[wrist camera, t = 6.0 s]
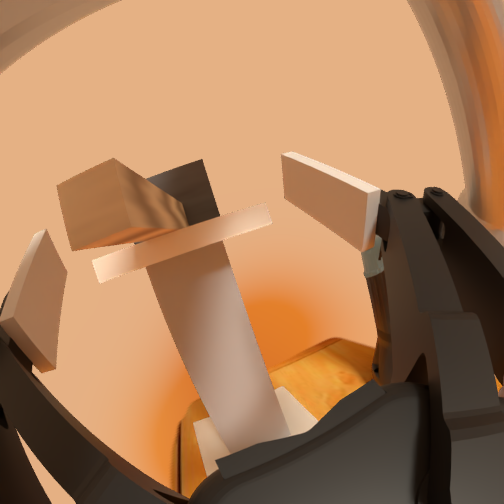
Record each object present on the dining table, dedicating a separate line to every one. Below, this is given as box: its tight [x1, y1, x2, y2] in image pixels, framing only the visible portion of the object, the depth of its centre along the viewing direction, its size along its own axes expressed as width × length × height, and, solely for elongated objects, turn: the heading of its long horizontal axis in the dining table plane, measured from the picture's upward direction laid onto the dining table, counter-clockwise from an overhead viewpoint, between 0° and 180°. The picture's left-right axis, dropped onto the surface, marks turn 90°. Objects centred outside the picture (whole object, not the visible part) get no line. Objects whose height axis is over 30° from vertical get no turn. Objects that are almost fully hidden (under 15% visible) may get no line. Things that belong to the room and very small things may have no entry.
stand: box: [92, 203, 319, 477], centre depth 32 cm, size 16×16×30 cm
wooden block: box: [57, 158, 220, 251], centre depth 23 cm, size 27×10×7 cm, turn 6°
